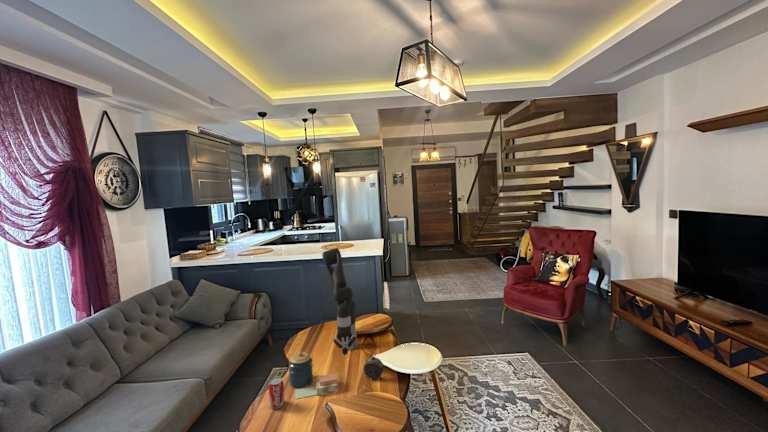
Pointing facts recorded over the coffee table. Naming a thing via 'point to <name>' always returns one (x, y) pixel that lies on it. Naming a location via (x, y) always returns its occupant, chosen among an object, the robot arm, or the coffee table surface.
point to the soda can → (276, 392)
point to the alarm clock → (373, 367)
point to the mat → (305, 392)
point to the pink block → (328, 379)
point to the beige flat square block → (325, 388)
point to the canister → (300, 370)
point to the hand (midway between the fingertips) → (345, 354)
